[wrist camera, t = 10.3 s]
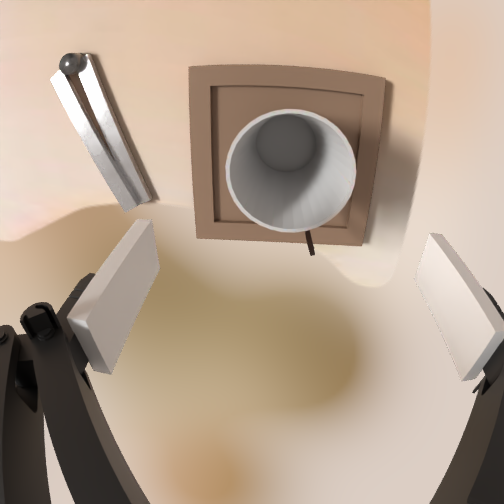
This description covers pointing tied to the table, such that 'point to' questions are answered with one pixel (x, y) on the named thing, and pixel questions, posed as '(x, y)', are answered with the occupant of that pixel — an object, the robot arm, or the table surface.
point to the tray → (264, 101)
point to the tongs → (123, 165)
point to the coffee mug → (290, 171)
